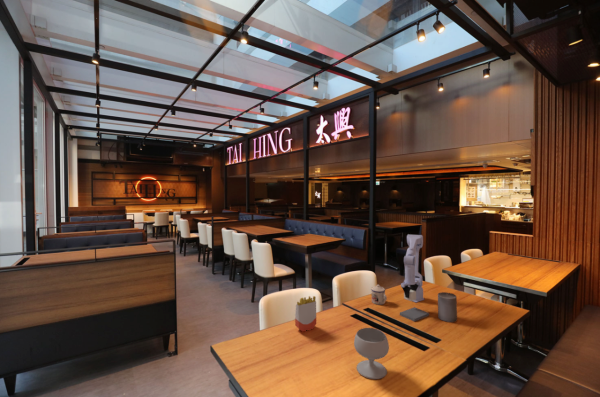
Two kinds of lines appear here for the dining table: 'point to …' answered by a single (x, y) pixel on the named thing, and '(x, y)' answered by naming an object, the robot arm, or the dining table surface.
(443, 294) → the pillar candle
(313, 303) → the french fries container
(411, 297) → the cube
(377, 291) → the teacup with lid
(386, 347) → the chalice
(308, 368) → the dining table surface
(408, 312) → the serving board
